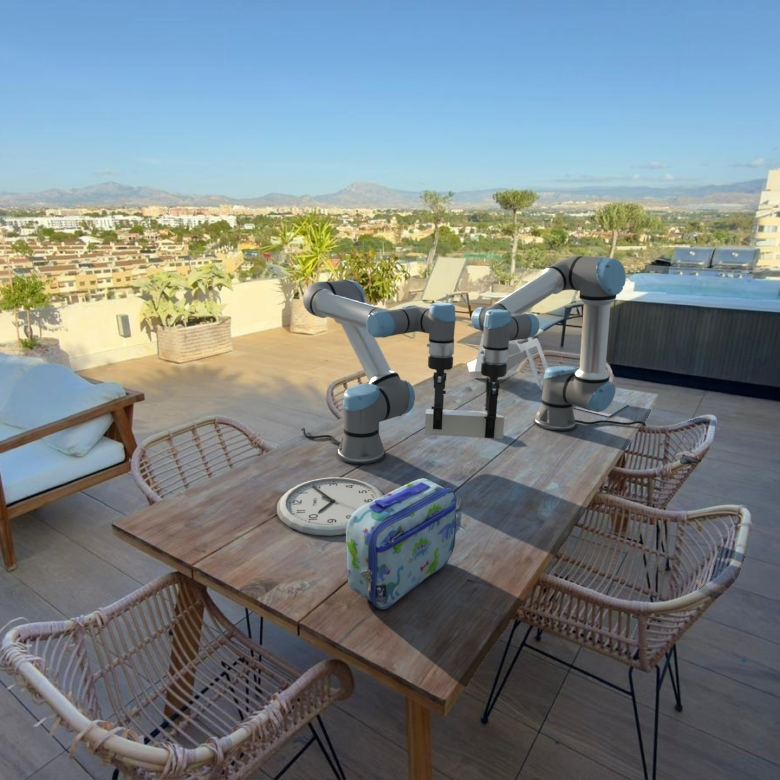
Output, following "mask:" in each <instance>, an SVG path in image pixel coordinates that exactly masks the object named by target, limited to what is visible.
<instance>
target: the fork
mask: <svg viewBox="0 0 780 780" xmlns="http://www.w3.org/2000/svg"><path fill="white" fill-rule="evenodd" d="M461 501H462V497H460V499H459V495H458V496H457V499H456V511H457V510H459V509H460V506H461Z"/></svg>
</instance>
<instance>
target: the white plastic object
mask: <svg viewBox="0 0 780 780" xmlns="http://www.w3.org/2000/svg"><path fill="white" fill-rule="evenodd" d="M524 313H525V312H523V313H522V314H524ZM480 337H481V338H480V342H479V348H478V352H477V356H476V359H474V360H472V361H470V362H467V363H466V366H467V369H468V373H469V374H470V376H471V377H472V378H480V377H485V376H484V375H482V374H481V363H482V362H483V360H482V354H481V353H480V351H483V333H482V334H481V336H480ZM536 353H538V355H539V357H540V360H541V363H542V367H543V369H544V371H545V370H546V369H547V368H549V366H548V363H547V359H546V357H545V353H544V350H543V348H542V345H541V342H540V340H539V339H538V338H537V337H535V338H533V337H530V338H527V341H525V342H523V343H519V342H518V341H517V340H512V341H509V346H508V360H507V362H506V364H507V370H506V374H509V371H510V370H511V369H513V368H514V367H516V366H517V365H519V363H521V362H522V361H524V360H525V359H526V358H527V359H528V363H529V367H530V369H531V372H532V375H533V378H534V381H535V384H536V385H537V386H538V388H539V389H540V391H543V384H542V382H541V380H540V376H539V374H538V370H537V367H536V365H535V361H534V358H533V355H534V354H536Z"/></svg>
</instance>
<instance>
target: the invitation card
mask: <svg viewBox="0 0 780 780" xmlns="http://www.w3.org/2000/svg"><path fill="white" fill-rule="evenodd" d="M627 406H628V404H627V403H623V402H618V401H614V400H612V402H611V403H610V405H609V406H608V407H607V408H606V409H605V410H603V411H601V412H595V411H589V410H587V409H584V408H581V407H578V406H574V407H573V409H575V410H580V411H584V412H587V413H592V414H594V415H595V414H596V415H600V416H603V417H608V418H609V417H611V416H612V415H614V414H616V413H617V412H619V411H620V410H622V409H624V408H625V407H627Z"/></svg>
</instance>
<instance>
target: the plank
mask: <svg viewBox="0 0 780 780" xmlns="http://www.w3.org/2000/svg"><path fill="white" fill-rule="evenodd" d="M433 411H434V409H431V408H426V409H425V415H424V417H425V418H424V435H427V436H428V435H429V436H446V437H461V438H463V437H465V438H480V439H481V438H482V439H483V438H484V439H486V438H485V427H486V419H485V418H484V416H487V411H480V410H478V411H477V410H458V409H443V415H442V430H438V429H433ZM504 426H505V414H504V412H501V411H499V412H498V411H496V419H495V429H494V438H493V439H497V440H498V439H501V440H502V439H504V428H505V427H504Z"/></svg>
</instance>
